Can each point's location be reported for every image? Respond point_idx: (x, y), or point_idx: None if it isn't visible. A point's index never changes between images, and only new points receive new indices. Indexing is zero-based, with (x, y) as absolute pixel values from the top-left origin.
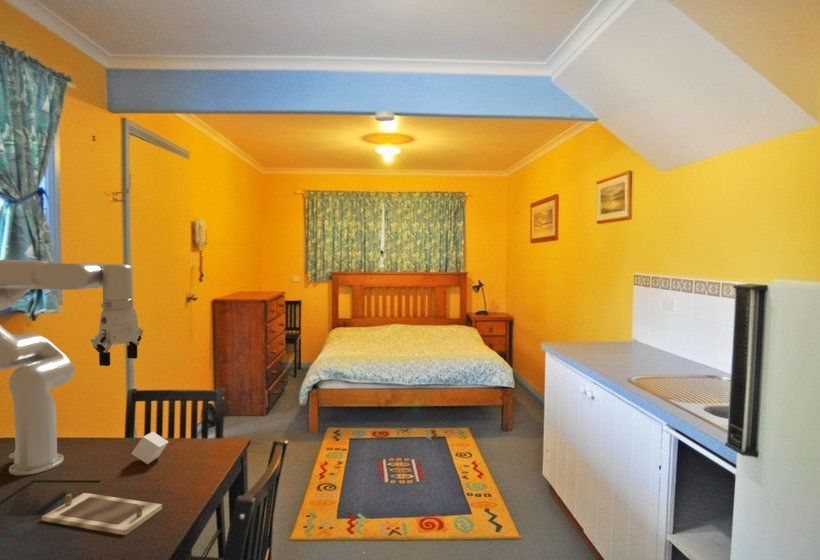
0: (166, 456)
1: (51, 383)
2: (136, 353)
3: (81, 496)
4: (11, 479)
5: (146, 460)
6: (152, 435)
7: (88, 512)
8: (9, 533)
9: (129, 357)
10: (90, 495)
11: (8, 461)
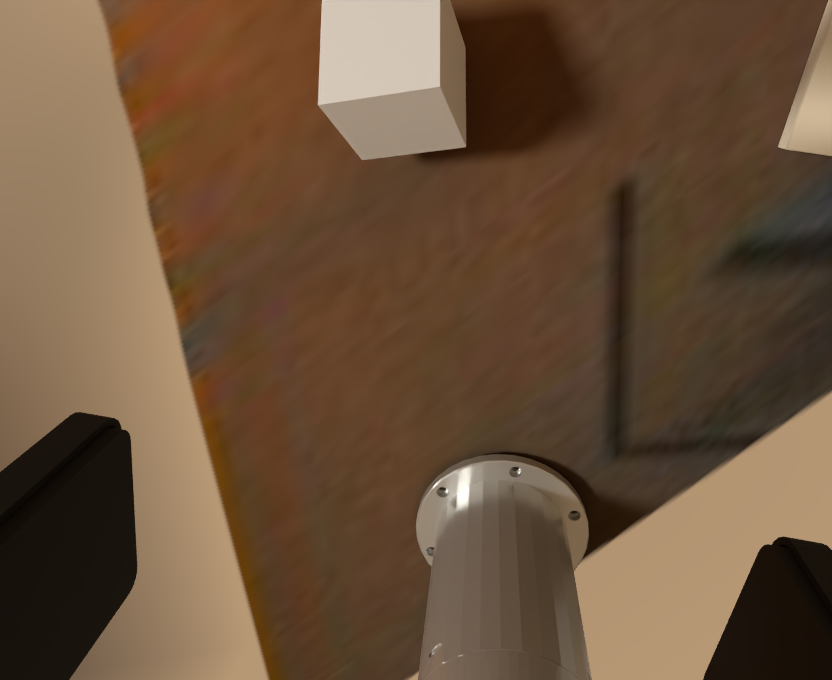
0: None
1: None
2: (36, 471)
3: (825, 133)
4: (602, 532)
5: (462, 55)
6: (363, 75)
7: None
8: None
9: (129, 549)
10: (819, 96)
11: None
